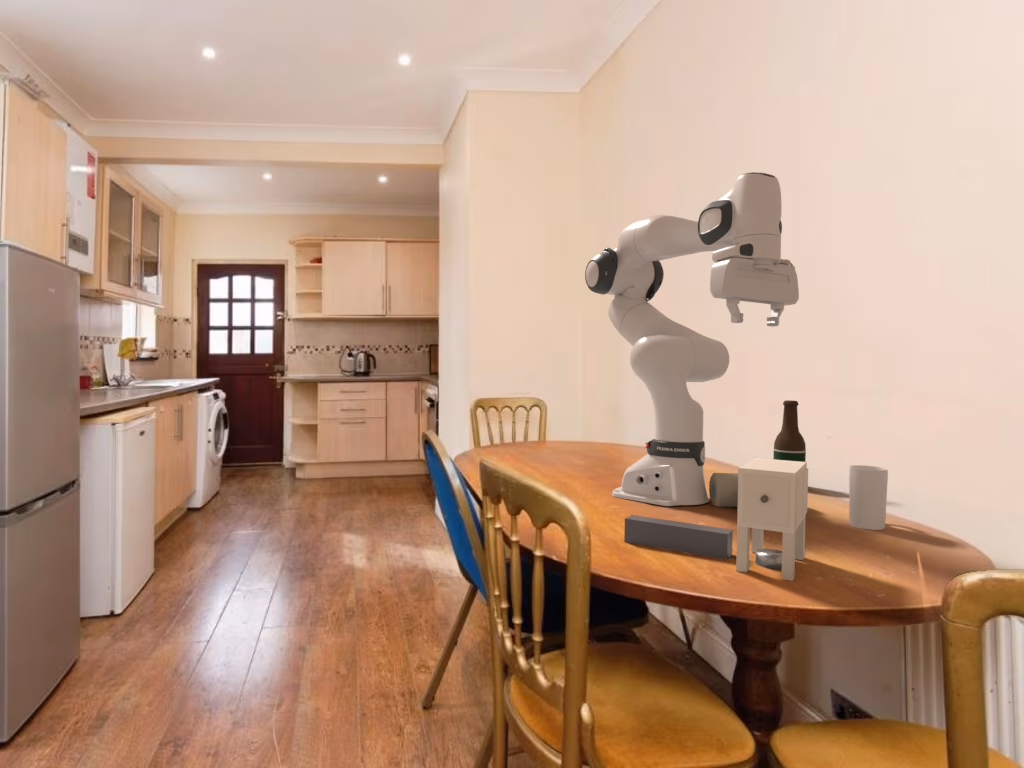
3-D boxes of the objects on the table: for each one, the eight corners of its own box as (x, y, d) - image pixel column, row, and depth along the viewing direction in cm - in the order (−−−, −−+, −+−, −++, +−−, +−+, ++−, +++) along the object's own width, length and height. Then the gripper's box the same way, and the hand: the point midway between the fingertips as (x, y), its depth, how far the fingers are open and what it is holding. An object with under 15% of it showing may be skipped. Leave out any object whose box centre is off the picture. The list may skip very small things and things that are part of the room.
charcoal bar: (624, 543, 109) (624, 518, 109) (631, 538, 112) (632, 514, 112) (727, 561, 99) (727, 534, 99) (732, 556, 102) (732, 529, 102)
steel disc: (752, 566, 97) (752, 553, 97) (758, 558, 101) (758, 546, 101) (786, 572, 94) (786, 559, 94) (790, 564, 98) (791, 551, 98)
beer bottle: (791, 494, 155) (793, 401, 155) (766, 489, 162) (768, 400, 162) (811, 492, 159) (813, 401, 158) (785, 487, 166) (787, 399, 165)
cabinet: (734, 572, 93) (736, 468, 93) (753, 549, 106) (755, 457, 105) (794, 583, 88) (796, 474, 88) (806, 557, 101) (809, 462, 101)
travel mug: (720, 494, 134) (803, 495, 133) (713, 465, 139) (793, 466, 138) (713, 514, 139) (792, 515, 138) (706, 486, 145) (782, 487, 144)
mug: (887, 532, 119) (888, 471, 118) (847, 527, 122) (849, 468, 122) (885, 521, 127) (886, 465, 127) (848, 517, 131) (849, 462, 130)
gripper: (781, 263, 127) (780, 329, 126) (705, 251, 118) (704, 322, 118) (807, 257, 121) (806, 326, 120) (729, 244, 112) (727, 318, 112)
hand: (755, 324), depth 119 cm, fingers open, 8 cm apart
